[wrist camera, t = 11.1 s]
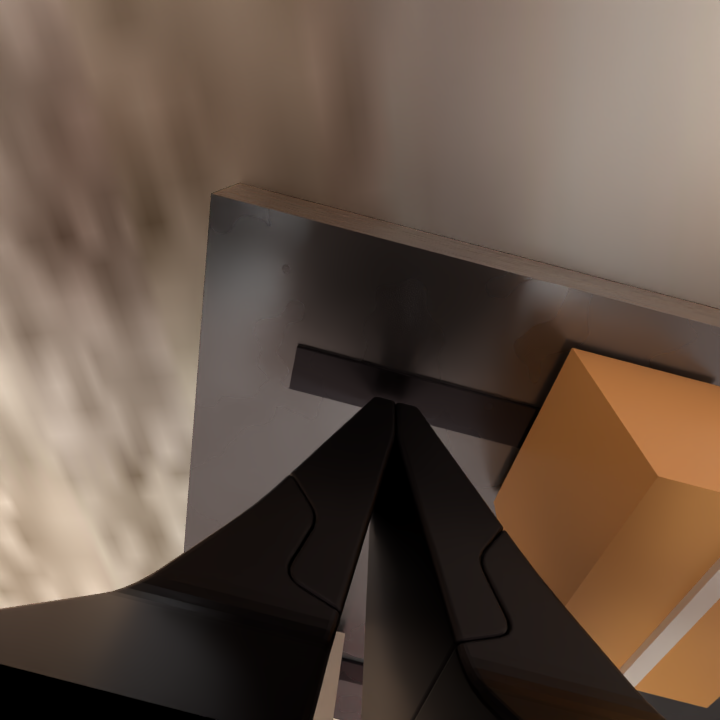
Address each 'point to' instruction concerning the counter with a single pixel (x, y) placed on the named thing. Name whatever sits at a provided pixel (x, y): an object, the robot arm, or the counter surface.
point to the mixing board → (395, 357)
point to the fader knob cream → (330, 681)
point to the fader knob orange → (628, 517)
